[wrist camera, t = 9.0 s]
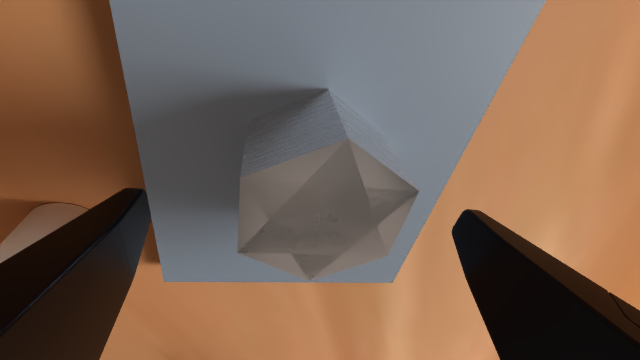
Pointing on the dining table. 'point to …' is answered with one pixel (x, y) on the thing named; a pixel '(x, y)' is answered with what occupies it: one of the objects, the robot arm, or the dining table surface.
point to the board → (295, 84)
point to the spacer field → (38, 226)
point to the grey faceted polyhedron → (320, 189)
